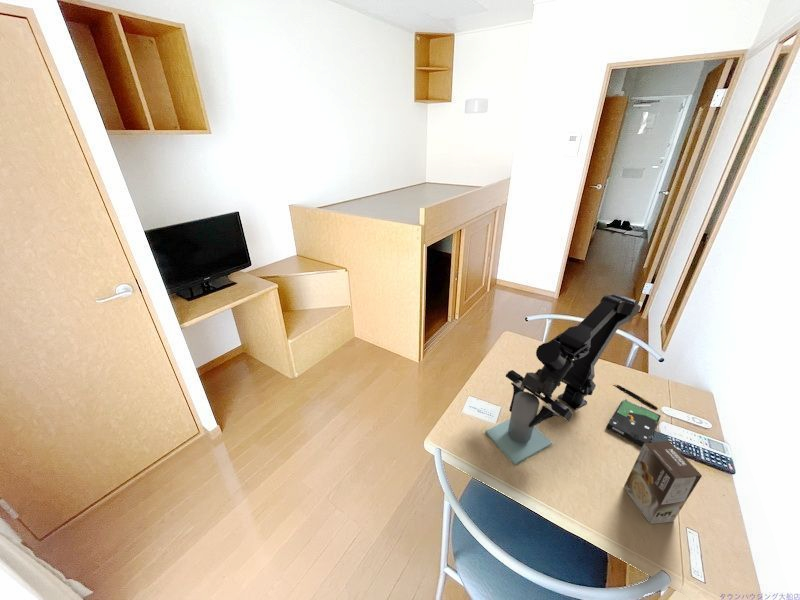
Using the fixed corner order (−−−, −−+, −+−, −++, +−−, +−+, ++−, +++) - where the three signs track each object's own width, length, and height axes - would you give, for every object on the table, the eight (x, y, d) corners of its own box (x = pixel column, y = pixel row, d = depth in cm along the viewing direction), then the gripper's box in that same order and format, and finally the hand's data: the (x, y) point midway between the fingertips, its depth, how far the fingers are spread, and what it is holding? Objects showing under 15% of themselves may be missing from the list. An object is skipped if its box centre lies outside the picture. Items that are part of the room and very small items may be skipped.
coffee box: (675, 521, 75) (705, 477, 67) (649, 524, 74) (676, 480, 67) (645, 483, 83) (669, 439, 75) (621, 485, 82) (642, 442, 75)
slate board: (520, 415, 103) (520, 413, 102) (551, 444, 93) (552, 442, 93) (485, 432, 97) (485, 430, 97) (514, 465, 88) (515, 463, 87)
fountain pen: (611, 384, 115) (612, 381, 114) (612, 383, 115) (614, 380, 115) (656, 411, 104) (658, 407, 103) (658, 409, 105) (660, 406, 104)
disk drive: (645, 451, 92) (658, 421, 101) (649, 444, 90) (661, 414, 99) (605, 429, 98) (620, 403, 107) (607, 423, 97) (623, 397, 106)
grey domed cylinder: (526, 424, 97) (534, 391, 91) (534, 442, 91) (543, 408, 85) (505, 424, 97) (511, 391, 91) (511, 443, 91) (518, 409, 85)
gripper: (514, 346, 92) (482, 391, 92) (577, 384, 78) (539, 438, 78) (527, 359, 100) (498, 400, 99) (587, 396, 86) (553, 444, 86)
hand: (519, 419), depth 90 cm, fingers closed on grey domed cylinder, 6 cm apart
